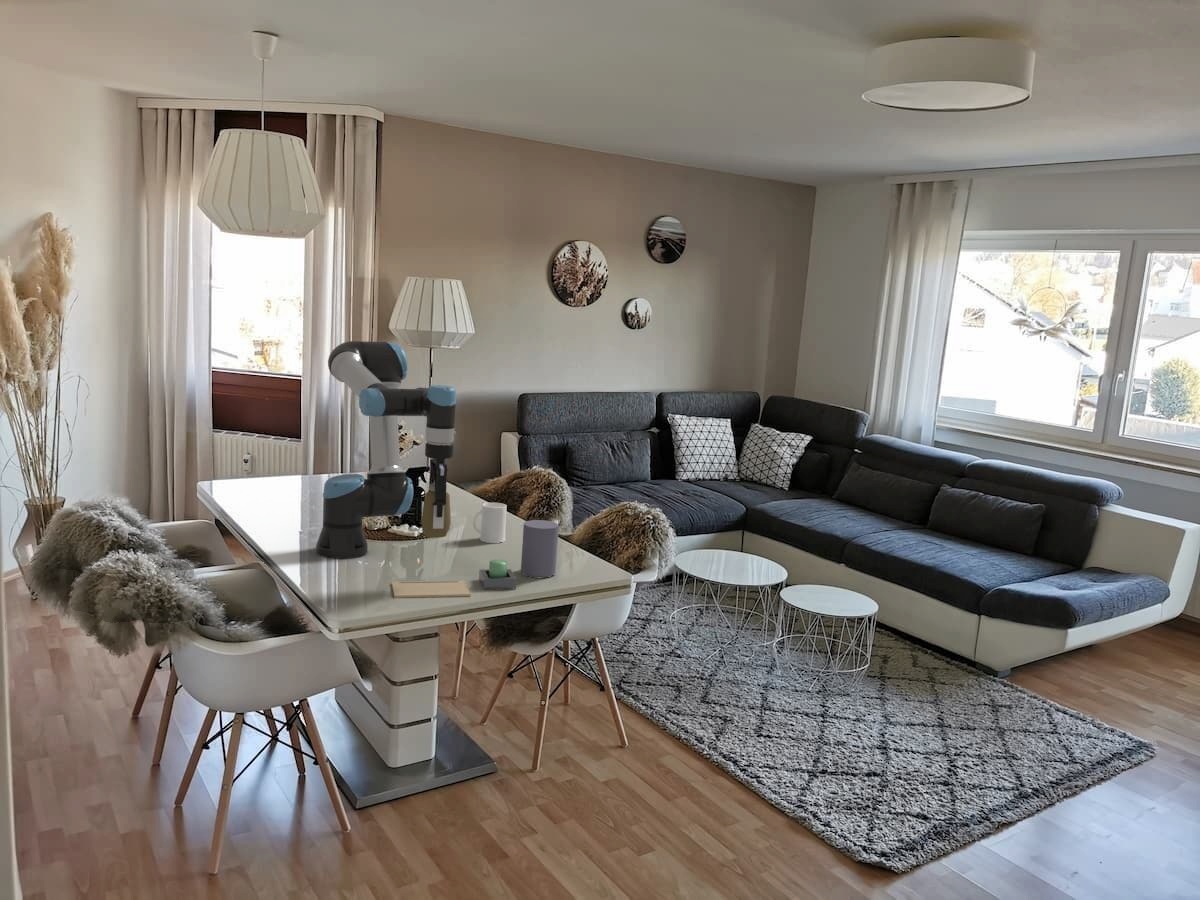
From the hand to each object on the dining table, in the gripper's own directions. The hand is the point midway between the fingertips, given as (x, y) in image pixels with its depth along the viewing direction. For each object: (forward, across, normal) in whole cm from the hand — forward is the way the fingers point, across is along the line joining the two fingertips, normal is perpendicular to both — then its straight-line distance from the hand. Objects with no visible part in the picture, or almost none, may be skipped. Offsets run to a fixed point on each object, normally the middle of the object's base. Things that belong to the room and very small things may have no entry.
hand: (435, 524), depth 250 cm
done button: (+16, -2, -18) cm, 24 cm away
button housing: (+17, -2, -18) cm, 25 cm away
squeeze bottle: (+3, 0, 0) cm, 3 cm away
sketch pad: (+17, -5, +1) cm, 18 cm away
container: (+17, +7, -32) cm, 37 cm away
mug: (+17, +45, -25) cm, 54 cm away
